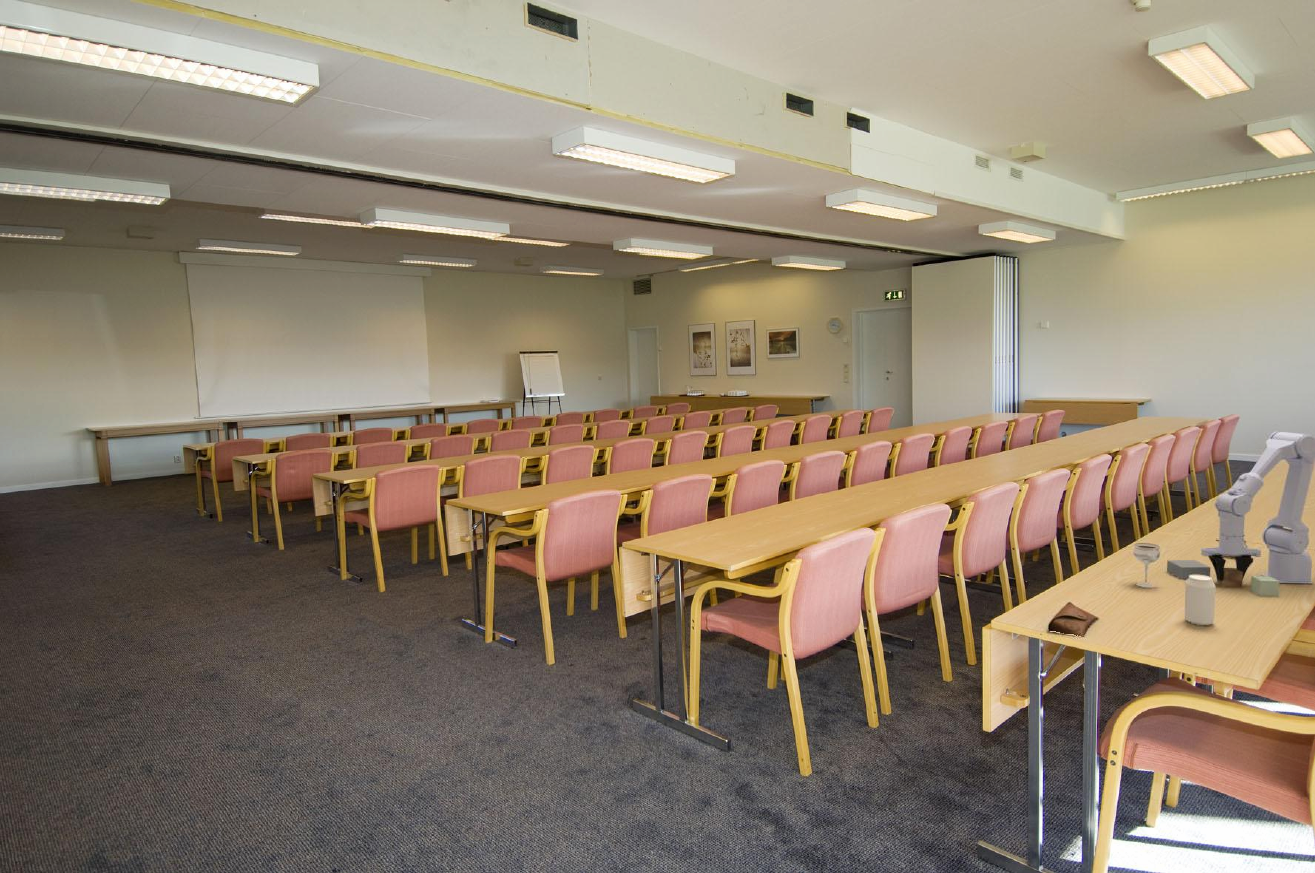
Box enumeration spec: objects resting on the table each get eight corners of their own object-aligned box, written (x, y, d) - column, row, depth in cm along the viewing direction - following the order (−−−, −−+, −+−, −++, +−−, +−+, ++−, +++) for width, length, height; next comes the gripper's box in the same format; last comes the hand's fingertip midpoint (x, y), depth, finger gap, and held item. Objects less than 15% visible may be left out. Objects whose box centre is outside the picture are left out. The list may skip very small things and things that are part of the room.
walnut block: (1233, 582, 225) (1234, 567, 224) (1242, 587, 220) (1242, 572, 220) (1216, 582, 226) (1217, 567, 225) (1224, 586, 221) (1225, 571, 221)
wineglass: (1135, 587, 224) (1136, 547, 223) (1130, 580, 230) (1131, 542, 229) (1161, 589, 221) (1163, 549, 220) (1156, 582, 228) (1157, 543, 226)
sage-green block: (1268, 591, 216) (1269, 576, 215) (1278, 596, 212) (1279, 580, 211) (1251, 591, 217) (1251, 575, 216) (1260, 596, 212) (1260, 580, 212)
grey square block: (1194, 572, 237) (1194, 560, 236) (1209, 580, 229) (1210, 567, 228) (1166, 572, 238) (1167, 560, 237) (1181, 580, 230) (1182, 567, 229)
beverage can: (1181, 623, 195) (1183, 577, 193) (1187, 616, 199) (1188, 572, 198) (1211, 628, 190) (1212, 582, 189) (1216, 621, 194) (1217, 576, 193)
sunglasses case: (1085, 638, 187) (1070, 613, 189) (1058, 647, 191) (1043, 622, 193) (1099, 617, 201) (1085, 594, 202) (1074, 626, 205) (1060, 603, 207)
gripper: (1251, 531, 224) (1250, 576, 225) (1196, 531, 227) (1195, 575, 228) (1265, 537, 217) (1263, 583, 218) (1208, 537, 220) (1207, 582, 221)
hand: (1229, 579), depth 223 cm, fingers closed on walnut block, 4 cm apart
